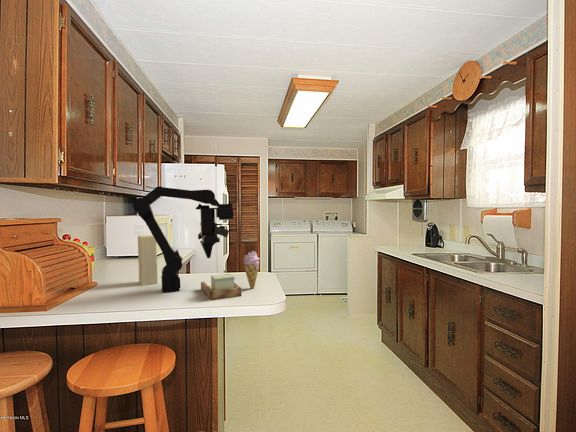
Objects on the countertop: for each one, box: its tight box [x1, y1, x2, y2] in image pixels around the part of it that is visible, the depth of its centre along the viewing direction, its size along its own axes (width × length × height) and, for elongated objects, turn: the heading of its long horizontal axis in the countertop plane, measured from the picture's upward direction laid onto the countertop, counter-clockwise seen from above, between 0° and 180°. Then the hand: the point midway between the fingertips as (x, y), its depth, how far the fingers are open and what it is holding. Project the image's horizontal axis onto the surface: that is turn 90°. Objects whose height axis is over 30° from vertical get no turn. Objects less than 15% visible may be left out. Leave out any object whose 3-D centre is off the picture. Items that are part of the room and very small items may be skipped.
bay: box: [200, 281, 243, 301], centre depth 135 cm, size 11×18×3 cm, turn 24°
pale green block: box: [210, 273, 236, 291], centre depth 131 cm, size 7×7×6 cm
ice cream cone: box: [243, 250, 261, 290], centre depth 139 cm, size 7×6×15 cm
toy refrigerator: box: [137, 234, 159, 286], centre depth 154 cm, size 8×7×21 cm
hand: (208, 258), depth 144 cm, fingers closed
